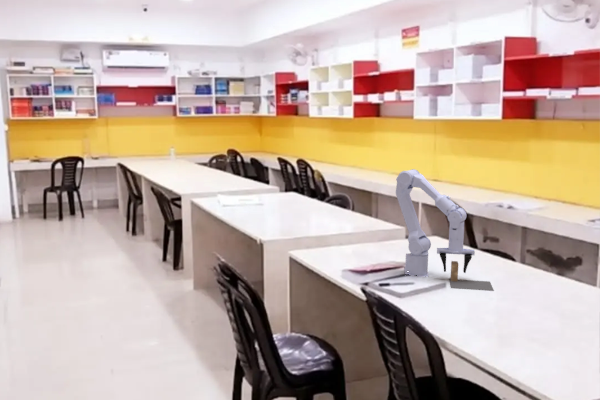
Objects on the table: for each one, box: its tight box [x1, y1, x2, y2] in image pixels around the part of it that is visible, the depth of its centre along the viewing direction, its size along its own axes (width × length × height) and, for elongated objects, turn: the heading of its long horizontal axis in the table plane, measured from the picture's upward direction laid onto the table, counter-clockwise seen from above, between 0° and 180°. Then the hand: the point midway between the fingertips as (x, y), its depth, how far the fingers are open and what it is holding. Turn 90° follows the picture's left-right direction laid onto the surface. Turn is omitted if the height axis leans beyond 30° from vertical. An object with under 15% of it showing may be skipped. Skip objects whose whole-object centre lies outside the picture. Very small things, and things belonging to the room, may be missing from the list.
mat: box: [448, 278, 495, 292], centre depth 238 cm, size 16×13×1 cm
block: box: [450, 260, 459, 282], centre depth 245 cm, size 2×5×7 cm, turn 169°
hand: (454, 271), depth 245 cm, fingers open, 7 cm apart
